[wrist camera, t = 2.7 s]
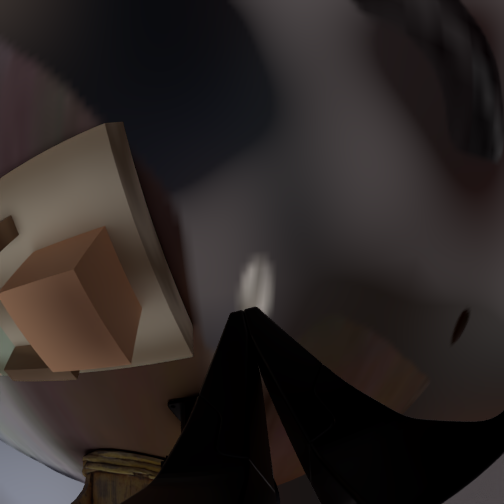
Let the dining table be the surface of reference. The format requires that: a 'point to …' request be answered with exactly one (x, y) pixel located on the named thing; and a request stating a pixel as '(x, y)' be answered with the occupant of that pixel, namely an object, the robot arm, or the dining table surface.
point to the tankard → (115, 476)
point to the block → (75, 304)
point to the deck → (80, 221)
